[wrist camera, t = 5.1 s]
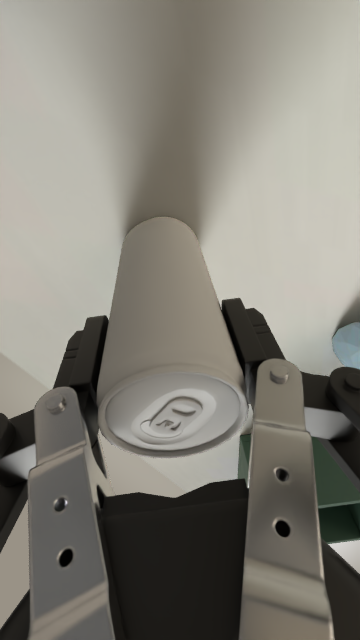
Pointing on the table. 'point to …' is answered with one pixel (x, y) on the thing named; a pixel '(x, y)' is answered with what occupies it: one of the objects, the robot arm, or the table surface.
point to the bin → (323, 493)
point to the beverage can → (168, 350)
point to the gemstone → (348, 345)
